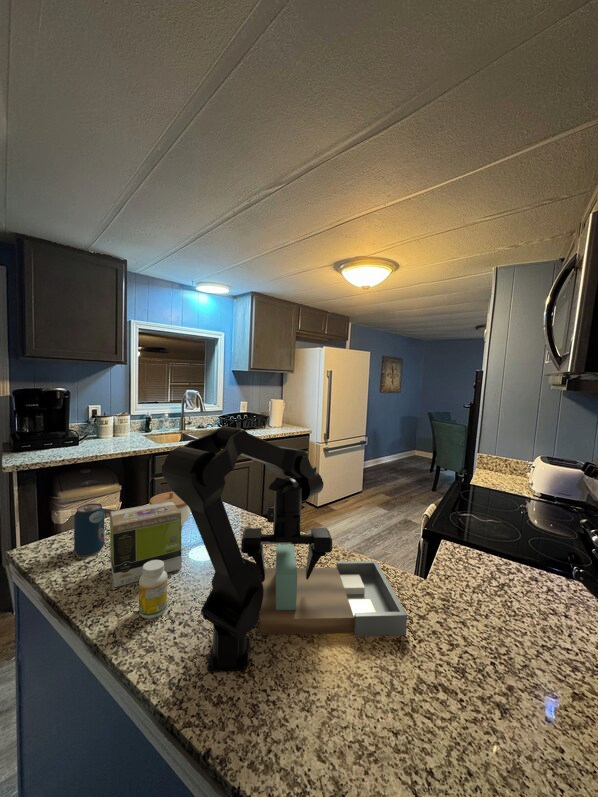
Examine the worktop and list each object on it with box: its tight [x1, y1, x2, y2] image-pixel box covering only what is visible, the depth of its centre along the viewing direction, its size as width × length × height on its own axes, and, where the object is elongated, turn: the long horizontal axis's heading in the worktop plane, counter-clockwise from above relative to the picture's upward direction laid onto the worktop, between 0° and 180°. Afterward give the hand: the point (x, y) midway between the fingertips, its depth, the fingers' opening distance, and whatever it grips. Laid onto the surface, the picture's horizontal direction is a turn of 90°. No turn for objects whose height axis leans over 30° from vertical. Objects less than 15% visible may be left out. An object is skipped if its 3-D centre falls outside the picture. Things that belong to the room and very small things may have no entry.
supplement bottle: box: [138, 560, 168, 619], centre depth 68 cm, size 5×5×10 cm
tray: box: [336, 560, 408, 638], centre depth 73 cm, size 19×10×4 cm, turn 4°
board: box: [259, 567, 354, 636], centre depth 72 cm, size 17×18×3 cm
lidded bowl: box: [149, 491, 191, 528], centre depth 106 cm, size 13×13×11 cm
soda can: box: [73, 502, 106, 557], centre depth 90 cm, size 7×7×12 cm
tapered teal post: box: [275, 544, 298, 610], centre depth 71 cm, size 12×4×7 cm, turn 4°
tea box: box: [109, 501, 183, 588], centre depth 82 cm, size 15×10×15 cm, turn 123°
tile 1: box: [340, 574, 365, 594], centre depth 77 cm, size 5×5×2 cm
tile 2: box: [348, 599, 376, 615], centre depth 68 cm, size 5×5×2 cm
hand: (285, 578), depth 71 cm, fingers open, 9 cm apart
